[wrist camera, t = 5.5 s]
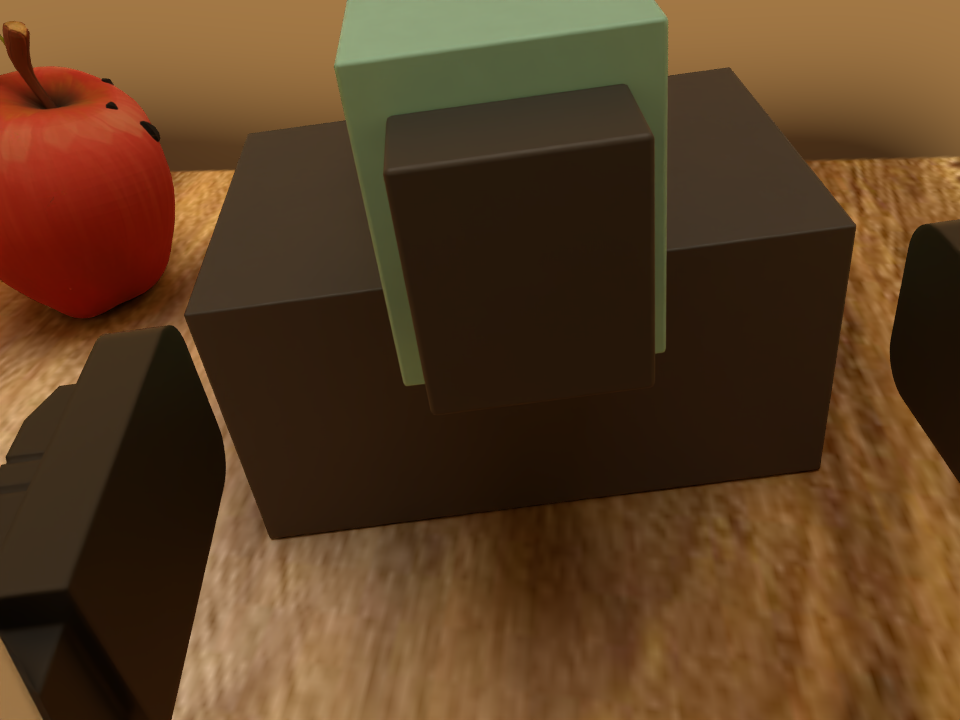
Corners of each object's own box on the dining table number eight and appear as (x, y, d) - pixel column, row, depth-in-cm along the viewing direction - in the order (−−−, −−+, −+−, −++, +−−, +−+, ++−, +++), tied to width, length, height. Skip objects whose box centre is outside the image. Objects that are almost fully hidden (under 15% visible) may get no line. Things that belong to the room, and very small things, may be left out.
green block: (406, 119, 22) (366, -108, 19) (570, 96, 22) (556, -135, 19) (403, 460, 13) (321, 116, 9) (693, 423, 12) (705, 63, 9)
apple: (241, 231, 31) (142, -82, 25) (180, 351, 26) (35, -10, 20) (33, 248, 32) (-111, -51, 26) (-68, 367, 27) (-279, 26, 21)
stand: (719, 273, 26) (730, 66, 22) (820, 469, 20) (858, 225, 16) (304, 328, 26) (247, 132, 23) (269, 539, 20) (182, 315, 16)
